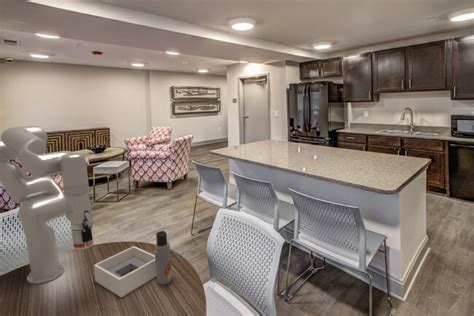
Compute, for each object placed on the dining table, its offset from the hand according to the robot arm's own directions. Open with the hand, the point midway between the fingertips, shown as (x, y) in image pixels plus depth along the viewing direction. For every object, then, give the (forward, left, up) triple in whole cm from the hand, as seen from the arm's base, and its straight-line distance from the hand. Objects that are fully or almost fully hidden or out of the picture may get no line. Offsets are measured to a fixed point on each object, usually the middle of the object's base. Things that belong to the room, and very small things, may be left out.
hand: (82, 237), depth 102 cm
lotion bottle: (+17, +20, -22) cm, 35 cm away
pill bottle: (0, 0, -3) cm, 3 cm away
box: (+4, +14, -22) cm, 26 cm away
